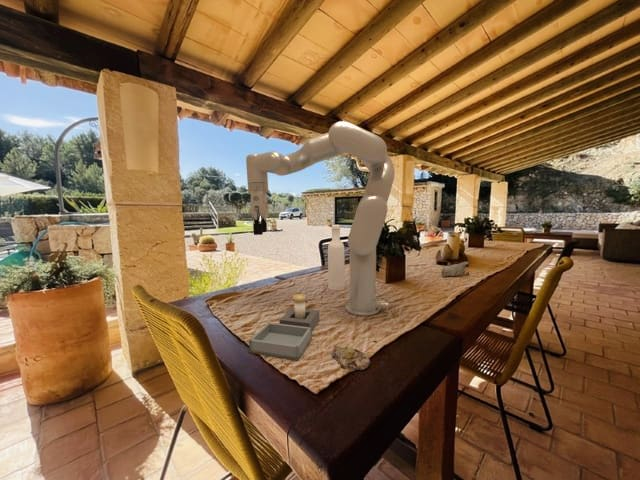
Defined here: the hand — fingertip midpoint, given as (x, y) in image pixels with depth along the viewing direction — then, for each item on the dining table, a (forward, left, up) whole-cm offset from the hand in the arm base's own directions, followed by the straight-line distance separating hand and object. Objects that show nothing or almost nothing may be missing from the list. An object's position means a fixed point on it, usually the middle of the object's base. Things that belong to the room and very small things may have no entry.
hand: (260, 233), depth 100 cm
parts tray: (-20, +27, -29) cm, 44 cm away
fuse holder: (-21, +14, -29) cm, 38 cm away
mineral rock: (-40, +29, -29) cm, 57 cm away
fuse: (-21, +14, -29) cm, 38 cm away
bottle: (-24, -26, -29) cm, 46 cm away
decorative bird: (-81, -61, -29) cm, 106 cm away
